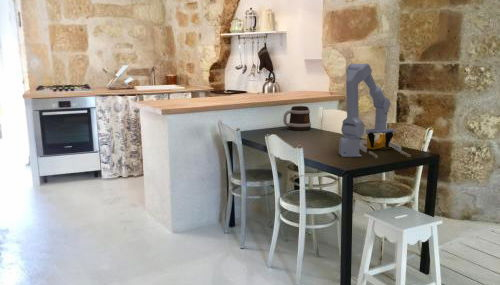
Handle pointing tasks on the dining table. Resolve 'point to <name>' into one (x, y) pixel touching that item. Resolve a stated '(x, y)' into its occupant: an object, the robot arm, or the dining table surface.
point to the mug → (298, 118)
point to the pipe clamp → (379, 143)
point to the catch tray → (376, 141)
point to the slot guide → (400, 152)
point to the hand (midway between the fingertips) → (379, 147)
